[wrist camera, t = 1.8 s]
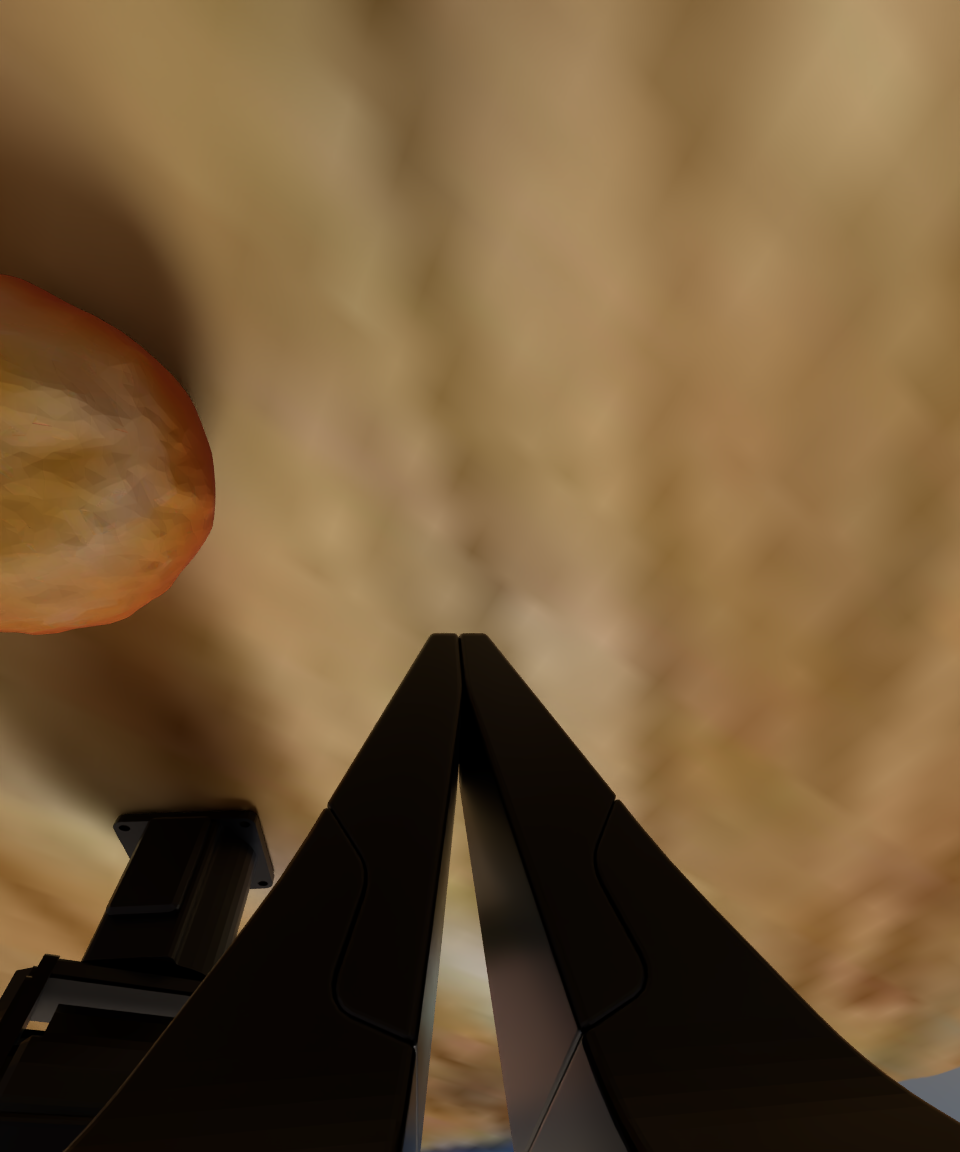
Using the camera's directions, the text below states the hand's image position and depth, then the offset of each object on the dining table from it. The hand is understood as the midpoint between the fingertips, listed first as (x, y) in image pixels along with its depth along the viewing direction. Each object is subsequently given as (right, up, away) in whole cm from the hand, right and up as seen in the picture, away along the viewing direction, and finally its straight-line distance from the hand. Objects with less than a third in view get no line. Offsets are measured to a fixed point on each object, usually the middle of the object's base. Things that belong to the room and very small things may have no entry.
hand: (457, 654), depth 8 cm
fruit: (-11, +6, +8) cm, 14 cm away
